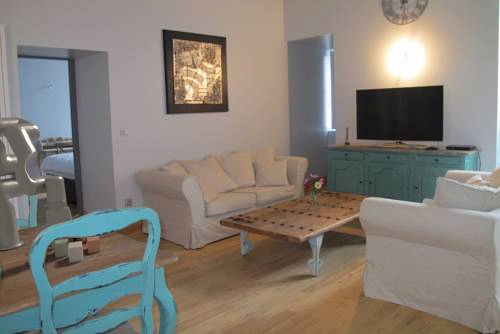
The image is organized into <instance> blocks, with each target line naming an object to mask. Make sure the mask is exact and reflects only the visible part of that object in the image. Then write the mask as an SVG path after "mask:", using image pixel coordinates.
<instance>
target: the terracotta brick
mask: <svg viewBox="0 0 500 334" xmlns="http://www.w3.org/2000/svg"><path fill="white" fill-rule="evenodd" d="M94 236H95V237H87V243H86V244H87V245H86V246H87V254H95V253H100V252H101V242H100V235H99V236H96V235H94Z"/></svg>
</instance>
